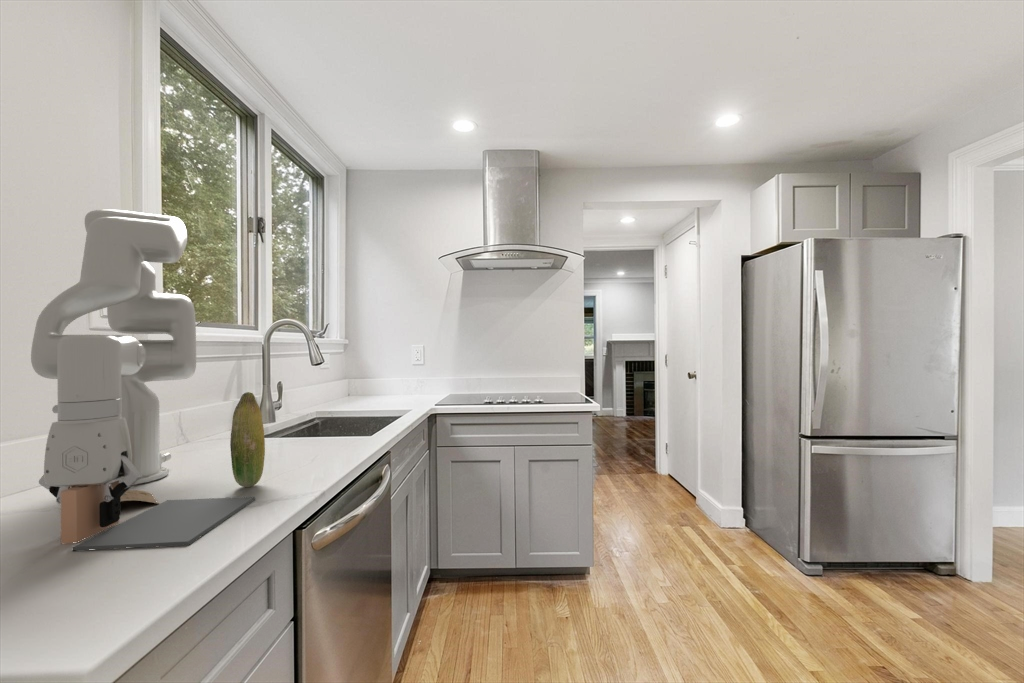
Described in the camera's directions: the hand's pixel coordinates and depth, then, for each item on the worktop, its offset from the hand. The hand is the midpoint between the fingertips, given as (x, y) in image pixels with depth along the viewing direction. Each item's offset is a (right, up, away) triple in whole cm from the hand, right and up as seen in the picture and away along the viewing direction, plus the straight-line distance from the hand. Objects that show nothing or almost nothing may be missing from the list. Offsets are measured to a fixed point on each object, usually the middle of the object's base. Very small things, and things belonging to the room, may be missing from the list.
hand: (91, 523), depth 72 cm
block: (0, -1, 0) cm, 1 cm away
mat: (+11, -1, +4) cm, 11 cm away
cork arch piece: (-7, -2, +11) cm, 14 cm away
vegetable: (+12, -2, +22) cm, 25 cm away
